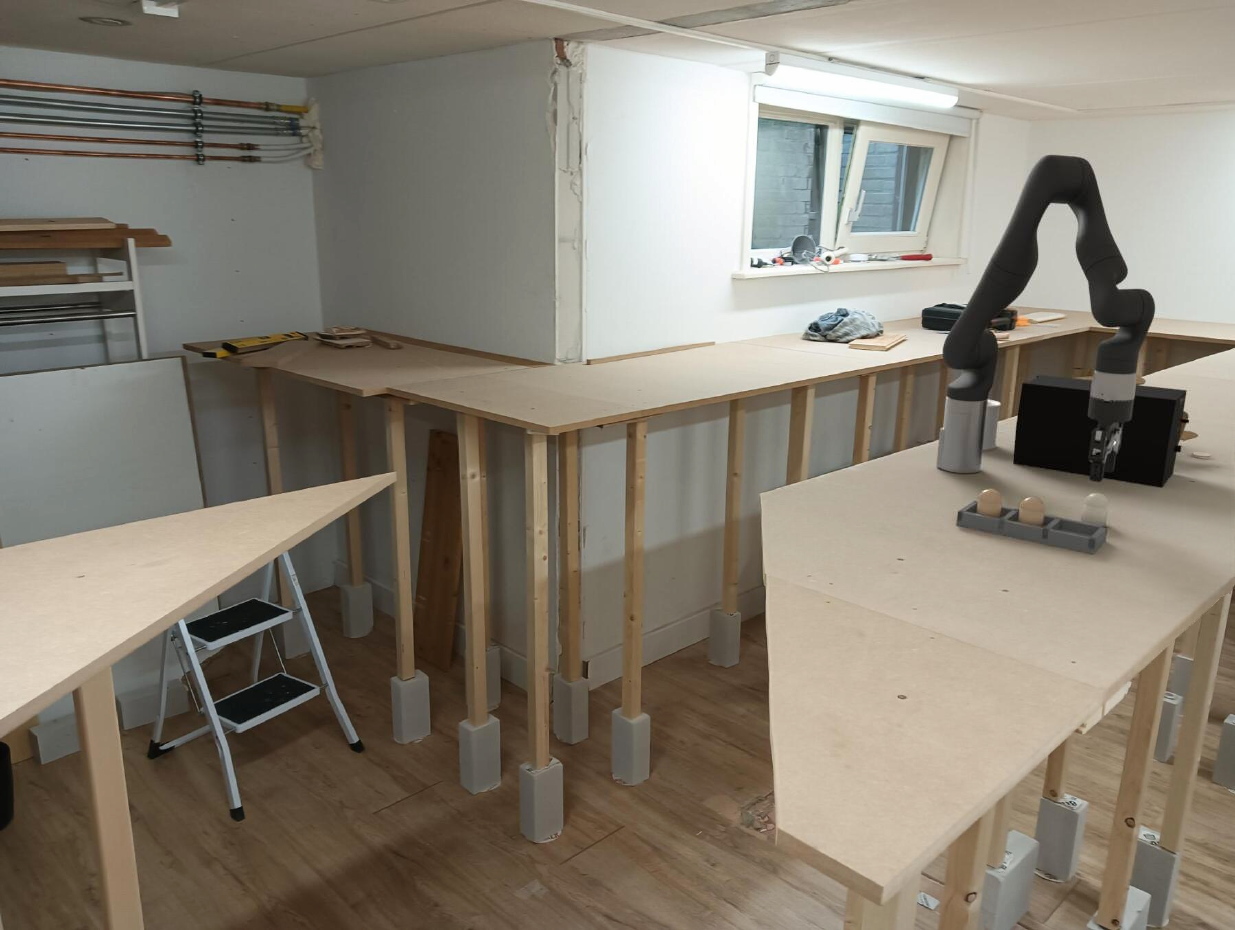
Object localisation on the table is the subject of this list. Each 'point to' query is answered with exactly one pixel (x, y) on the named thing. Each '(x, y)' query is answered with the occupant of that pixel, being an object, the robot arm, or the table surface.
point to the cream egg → (1095, 509)
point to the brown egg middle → (1032, 511)
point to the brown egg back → (989, 503)
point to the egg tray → (1037, 529)
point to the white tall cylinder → (991, 425)
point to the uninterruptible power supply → (1062, 428)
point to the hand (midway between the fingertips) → (1101, 476)
